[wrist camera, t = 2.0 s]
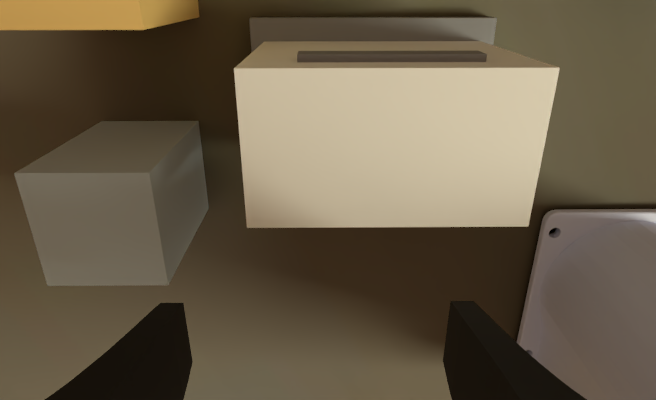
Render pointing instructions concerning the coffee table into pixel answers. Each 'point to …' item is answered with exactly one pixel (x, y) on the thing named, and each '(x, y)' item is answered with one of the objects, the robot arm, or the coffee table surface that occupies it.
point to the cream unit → (389, 123)
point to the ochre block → (94, 14)
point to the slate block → (116, 203)
